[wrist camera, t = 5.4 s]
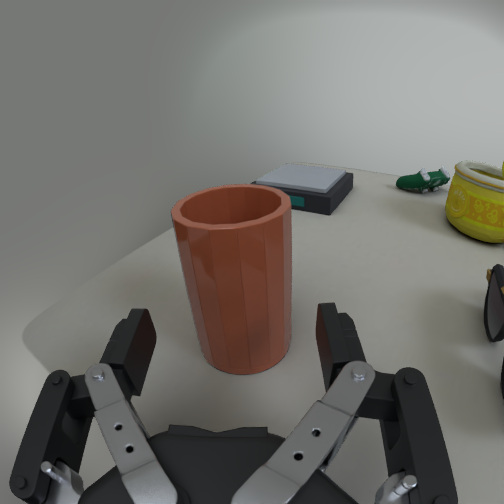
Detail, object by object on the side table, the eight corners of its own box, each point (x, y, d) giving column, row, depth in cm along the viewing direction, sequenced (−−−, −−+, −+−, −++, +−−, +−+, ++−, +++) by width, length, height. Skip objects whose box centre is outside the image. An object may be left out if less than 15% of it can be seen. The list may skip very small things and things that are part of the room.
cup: (213, 386, 18) (179, 240, 13) (192, 323, 23) (166, 196, 18) (305, 357, 20) (312, 212, 15) (270, 302, 25) (264, 178, 20)
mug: (427, 213, 38) (437, 126, 32) (480, 211, 38) (492, 134, 32) (484, 262, 27) (508, 152, 21) (535, 253, 27) (557, 162, 21)
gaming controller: (402, 202, 46) (424, 185, 40) (392, 181, 47) (413, 163, 41) (435, 195, 48) (457, 181, 43) (427, 176, 49) (447, 160, 44)
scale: (329, 215, 38) (330, 192, 37) (246, 202, 44) (245, 181, 42) (352, 187, 47) (353, 169, 46) (284, 178, 53) (283, 161, 51)
